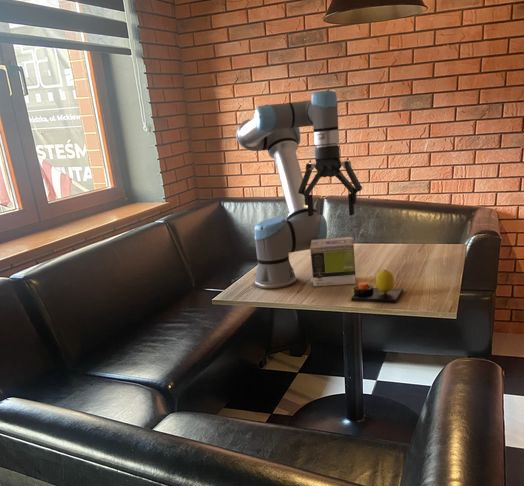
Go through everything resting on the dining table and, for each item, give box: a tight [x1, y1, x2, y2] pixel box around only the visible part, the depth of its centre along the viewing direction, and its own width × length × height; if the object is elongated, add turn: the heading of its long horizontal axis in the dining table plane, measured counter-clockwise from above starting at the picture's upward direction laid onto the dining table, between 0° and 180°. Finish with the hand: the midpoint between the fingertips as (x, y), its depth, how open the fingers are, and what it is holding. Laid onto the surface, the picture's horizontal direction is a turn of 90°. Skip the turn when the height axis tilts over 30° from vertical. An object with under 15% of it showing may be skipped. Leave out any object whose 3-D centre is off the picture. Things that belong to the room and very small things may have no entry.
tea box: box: [309, 235, 357, 287], centre depth 189 cm, size 15×10×15 cm, turn 82°
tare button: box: [357, 281, 369, 289], centre depth 174 cm, size 3×3×2 cm
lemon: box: [375, 269, 395, 294], centre depth 170 cm, size 6×6×8 cm
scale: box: [351, 284, 404, 304], centre depth 173 cm, size 14×11×3 cm
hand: (331, 215), depth 170 cm, fingers open, 13 cm apart
